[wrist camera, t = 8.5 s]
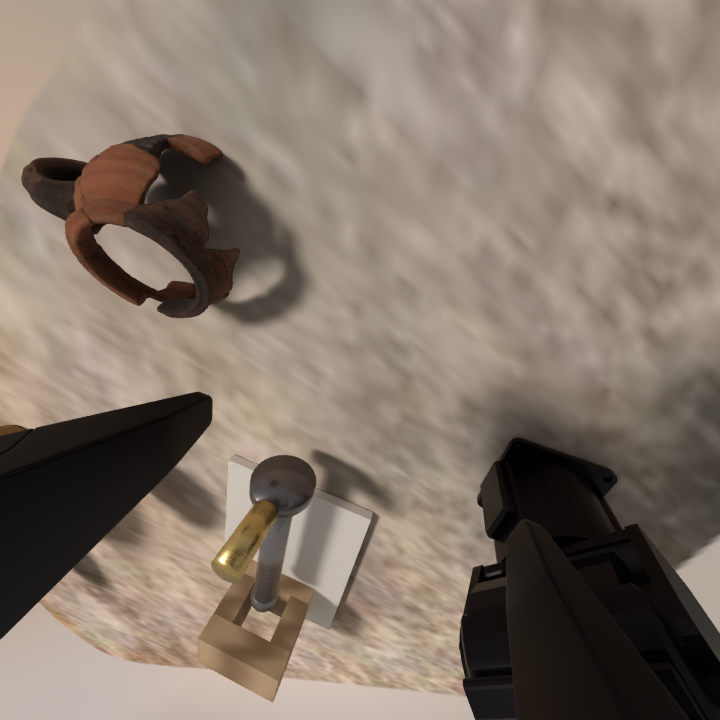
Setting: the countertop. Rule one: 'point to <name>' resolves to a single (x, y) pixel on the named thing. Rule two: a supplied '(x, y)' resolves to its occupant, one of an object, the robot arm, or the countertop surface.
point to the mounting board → (308, 540)
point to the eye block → (246, 650)
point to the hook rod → (267, 526)
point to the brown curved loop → (136, 218)
